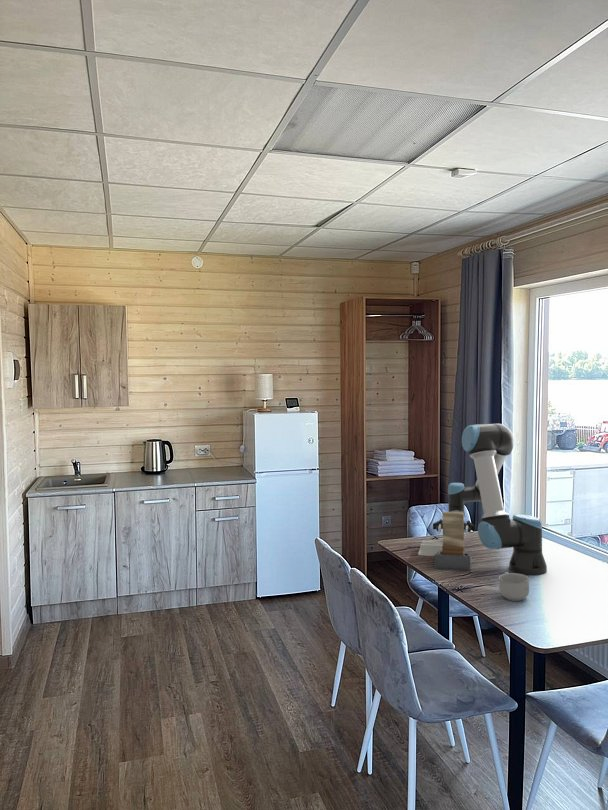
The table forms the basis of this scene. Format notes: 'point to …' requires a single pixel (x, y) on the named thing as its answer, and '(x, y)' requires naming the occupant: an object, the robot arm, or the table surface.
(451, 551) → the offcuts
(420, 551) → the stand
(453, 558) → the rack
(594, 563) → the table surface
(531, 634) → the table surface
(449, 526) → the birch sheet
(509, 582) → the teacup
